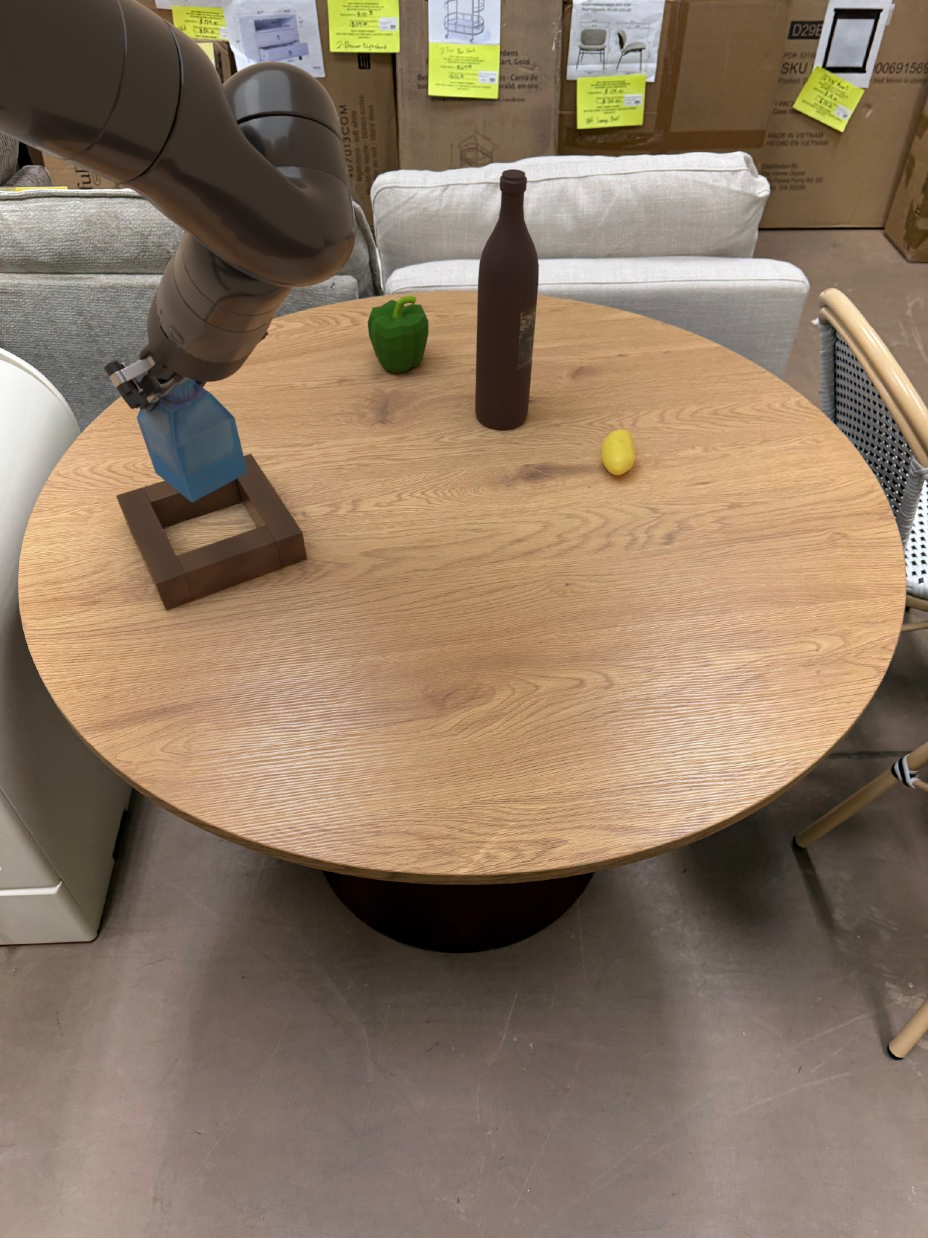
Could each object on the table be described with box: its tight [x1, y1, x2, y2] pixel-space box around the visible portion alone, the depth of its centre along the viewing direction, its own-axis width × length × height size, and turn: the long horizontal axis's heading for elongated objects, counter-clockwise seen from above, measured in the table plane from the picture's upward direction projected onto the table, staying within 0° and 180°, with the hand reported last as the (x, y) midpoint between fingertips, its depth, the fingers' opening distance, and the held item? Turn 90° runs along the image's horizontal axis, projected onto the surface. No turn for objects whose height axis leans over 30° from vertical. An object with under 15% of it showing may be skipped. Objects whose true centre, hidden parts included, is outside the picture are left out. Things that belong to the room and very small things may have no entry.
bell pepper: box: [367, 295, 429, 374], centre depth 113 cm, size 8×8×10 cm
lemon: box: [600, 429, 636, 476], centre depth 100 cm, size 4×8×4 cm, turn 167°
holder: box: [115, 453, 308, 611], centre depth 90 cm, size 16×16×4 cm
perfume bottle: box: [136, 380, 248, 502], centre depth 73 cm, size 6×6×12 cm
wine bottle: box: [474, 168, 540, 430], centre depth 97 cm, size 7×7×30 cm
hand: (168, 390), depth 73 cm, fingers closed on perfume bottle, 4 cm apart
